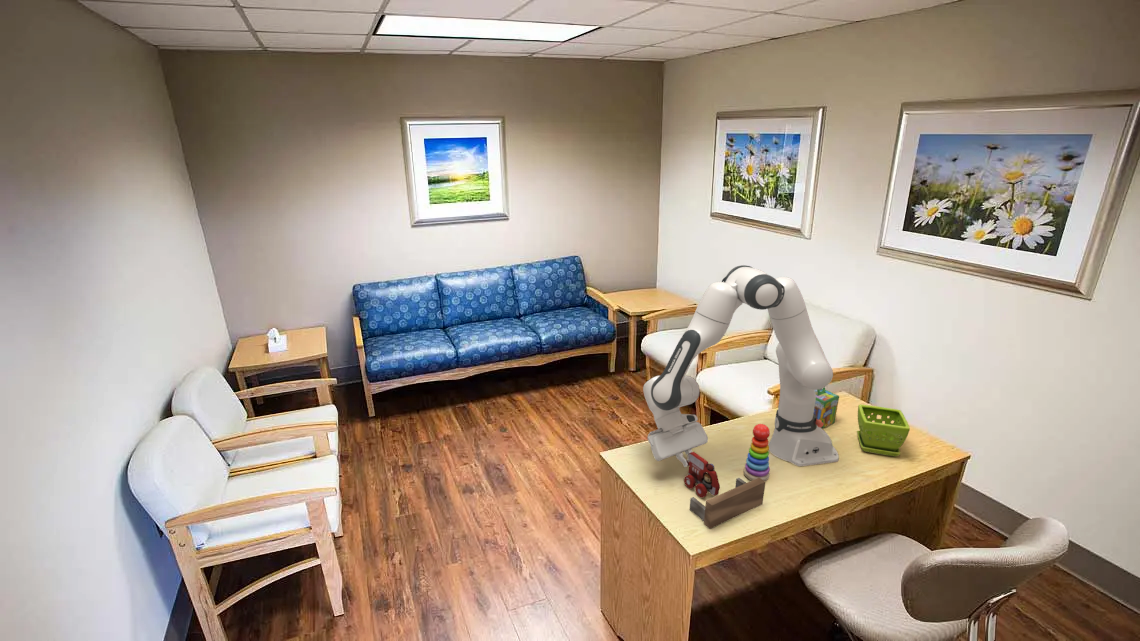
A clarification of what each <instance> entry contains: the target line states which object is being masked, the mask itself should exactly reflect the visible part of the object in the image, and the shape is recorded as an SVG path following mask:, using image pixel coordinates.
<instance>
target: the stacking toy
mask: <svg viewBox="0 0 1140 641" xmlns="http://www.w3.org/2000/svg"><path fill="white" fill-rule="evenodd" d="M752 435H753V437H752V438H751V443H750V447H749V448H748V453H747V455H746V456H747V458H746V459H745V465H744V466H745V467H744V468H743V475H744V476H745V477H746V478H747V479H748V480H750V481H752V480H754V479H757V478H761V479H762V480H764V481H765V482H766V481H767V480H769V478H770V476H771V475H770V474H771V473H770V470H771V469H770V462H769V461H770V457H769V454H770V451H769V446H768V444H769V442H770V440H769V439H768V438H769V437H770V435H771V431H770V428H769V427H768V426H767V425H766V424H763V423H758V424H756V425H755V426H754V427H753V428H752Z"/></svg>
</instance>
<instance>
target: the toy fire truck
mask: <svg viewBox="0 0 1140 641" xmlns="http://www.w3.org/2000/svg"><path fill="white" fill-rule="evenodd" d="M689 461H690V462H689V466H688V471H687V474H686V475H685V476H684V478H683V482H684V484H685V486H686V488H688V489H695V490H694V491H695V493H696V495H697V497H698V498H701V499H703V498H705V497H707V495H708V493H709V494H711V495H712V496H713V497H715V496H718V495H720V494H719V493H720V490H721V484H720V482H719V477H718V473H717V471H716V470H715V465H714V464H713V463H709V461H708V460H706V459H705V458H704V457H703V456H700V455H699V454H697V452H695V451H692V452H691V453H690V454H689Z"/></svg>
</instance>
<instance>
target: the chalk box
mask: <svg viewBox="0 0 1140 641" xmlns="http://www.w3.org/2000/svg"><path fill="white" fill-rule="evenodd" d="M814 391H815V394H816V401H815V407H814V413H813V414H814V415H815V416H816V417H817V418H818V420H821V421H822V422H823V424H824V425H823V426H822V427H820V428H822V429H825V428H827V427H828V426H830V425H833V424H835V422H836V418H837V412H838V411H837V410H838V404H839V400H840V395H838V394H836V393H833V392H831V391H830V390H827V389H826V387H824V388H822V389H818V390H814Z"/></svg>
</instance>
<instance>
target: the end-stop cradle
mask: <svg viewBox="0 0 1140 641" xmlns="http://www.w3.org/2000/svg"><path fill="white" fill-rule="evenodd" d="M765 489H766V481H764V480H762V479H761V478H757V479H754V480H750V481H747V482H746V481H745V480H743V479H742V478H740V477H737V478H736V479H735V486H734V488H731V489H729V490H727V491H725V492H722V493H720V494H718V495H715V496H713V497H711V498H709V499H706V500H705V505H704V504H703V503H702V502H700V500H698V499H697V498H696V497H694V496H693V497H690V499H689V508H688V509H689V510H690V511H691V512H692V513H693V514H694V515H695V516H696V517H698V518H699V519H700V520H701V521H702V522H703V525H704V526H706V527H707V529H709V530H711V529H714V528H715V527H717V526H719V525H723V523H726V522H728V521H730V520H732V519H734V518H736V517H738V516H740V515H743V514H745V513H747V512H749V511H752V510H754V509H756V508H758V507H760V506H762V505H763V503H764V496H765Z"/></svg>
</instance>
